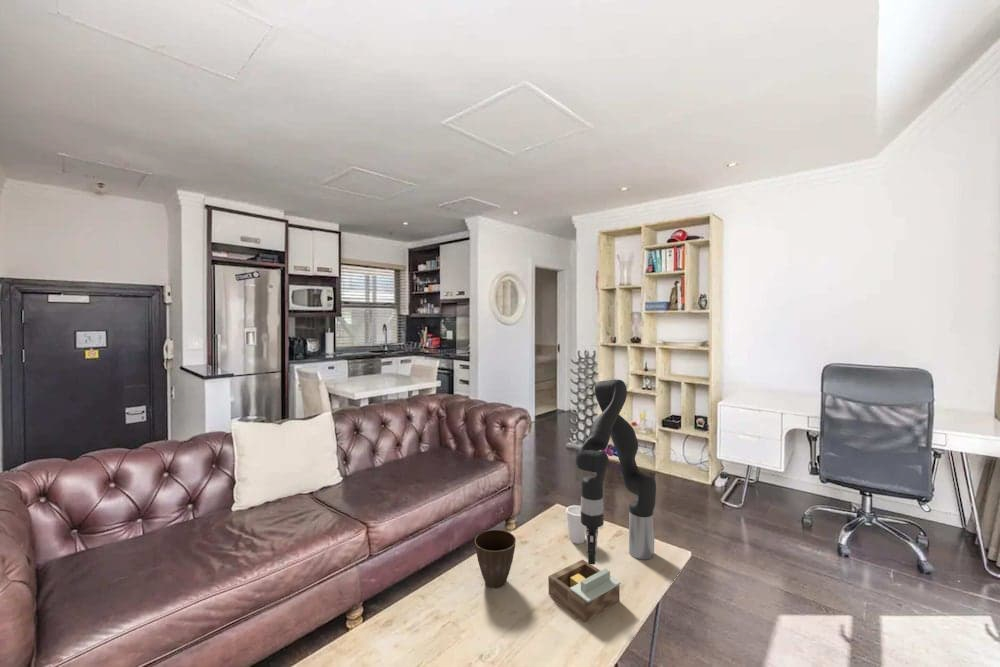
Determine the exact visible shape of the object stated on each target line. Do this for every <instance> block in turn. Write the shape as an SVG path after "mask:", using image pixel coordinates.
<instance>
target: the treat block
mask: <svg viewBox="0 0 1000 667" xmlns="http://www.w3.org/2000/svg"><path fill="white" fill-rule="evenodd" d="M584 579H586V578H584V577H583V576H581V575H580V574H579V573H578V574H576V575H574V576H572V577H570V588H571V587H572V586H574V585H576V584H578V583H580V582H581V581H582V580H584Z"/></svg>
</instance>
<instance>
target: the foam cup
mask: <svg viewBox="0 0 1000 667" xmlns="http://www.w3.org/2000/svg"><path fill="white" fill-rule="evenodd" d="M565 516H566V523H567V528H568V529H567V530H568V535H569V541H570V542H571V543H573V544H576V545H577V544H578V545H579V544H582V543H584V542H585V541H586V539H585V538H586V526H584V525H583V524H582V523H581V505H569V506H567V508H566V509H565Z"/></svg>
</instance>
